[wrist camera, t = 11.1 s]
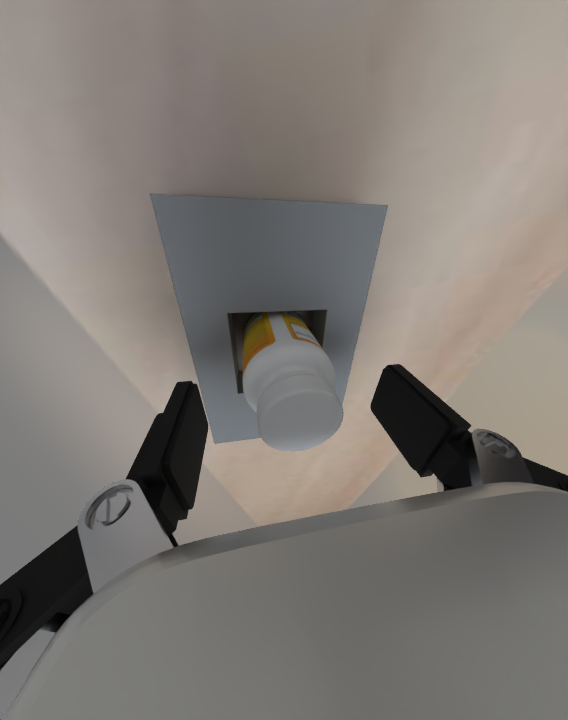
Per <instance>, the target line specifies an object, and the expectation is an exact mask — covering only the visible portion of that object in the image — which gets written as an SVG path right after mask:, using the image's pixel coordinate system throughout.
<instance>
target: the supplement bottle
mask: <svg viewBox="0 0 568 720" xmlns="http://www.w3.org/2000/svg"><path fill="white" fill-rule="evenodd" d="M242 379H243V391H244V396H245V398H246V401H247V402H248V404H249V405H250V407H251V408H252V409H253V410H254V411H255V412H256V413H257V421H258V430H259V434H260V436H261V438H262V440H263V441H264V442H265V443H266V444H268V445H269V446H270V447H272V448H275V449H277V450H282V451H301V450H306V449H309V448H312V447H315V446H317V445H319V444H321V443H323V442H325V441H326V440H327V439H329V438H330V437H331V436H332V435H334V433H335V432H336V431H337V430H338V428H339V427H340V425H341V422H342V420H343V408H342V405H341V403H340V401H339V399H338V397H337V395H336V393H335V391H334V386H335V371H334V367H333V365H332V363H331V361H330V359H329V357H328V356H327V354H326V353H325V351H324V350H323V349H322V347H321V346H320V344H319V343H318V342H317V340H316V339H315V337H314V336H313V334H312V333H311V331H310V330H309V329H308V327H307V326H306V324H305V323H304V322H303V320H302V319H301V318H300V317H299V316H298V315H297V314H296V313H295V312H294V311H273V312H257V313H256V314H255V315H253V316H252V317H251V319H250V320H249V321H248V323H247V325H246V327H245V330H244V335H243V377H242Z"/></svg>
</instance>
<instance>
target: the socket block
mask: <svg viewBox="0 0 568 720" xmlns="http://www.w3.org/2000/svg"><path fill="white" fill-rule="evenodd" d="M150 196H151V200H152V204H153V208H154V212H155V215H156V219H157V223H158V227H159V231H160V235H161V239H162V242H163V246H164V250H165V254H166V258H167V262H168V266H169V270H170V273H171V277H172V281H173V285H174V289H175V293H176V297H177V300H178V304H179V308H180V312H181V316H182V320H183V324H184V327H185V331H186V335H187V339H188V343H189V347H190V351H191V355H192V358H193V362H194V366H195V370H196V374H197V378H198V382H199V385H200V389H201V393H202V397H203V401H204V405H205V409H206V413H207V416H208V420H209V424H210V428H211V432H212V436H213V440H214V443H215V444H216V443H224V442H231V441H239V440H247V439H255V438H261V436H260V434H259V430H258V421H257V413H256V412H255V411H254V410H253V409H252V408H251V407H250V405H249V404H248V402H247V401H246V398H245V396H244V391H243V379H242V377H243V372H239V369H238V361H237V353H236V345H235V337H234V329H233V321H232V313H245V312H273V311H302V310H313V318H312V329H311V333H312V334H313V336H314V337H315V339H316V340H317V342H318V343H319V344H320V346H321V347H322V349H323V350H324V351H325V353H326V354H327V356H328V357H329V359H330V361H331V363H332V365H333V367H334V371H335V386H334V391H335V393H336V395H337V397H338V399H339V401H340V403H341V405H342V404H343V399H344V395H345V391H346V386H347V382H348V377H349V373H350V369H351V364H352V360H353V356H354V351H355V347H356V343H357V338H358V334H359V329H360V325H361V321H362V316H363V312H364V308H365V303H366V299H367V295H368V290H369V286H370V281H371V277H372V273H373V268H374V264H375V260H376V255H377V251H378V247H379V242H380V238H381V233H382V229H383V225H384V220H385V216H386V212H387V207H388V205H370V204H350V203H329V202H309V201H289V200H269V199H248V198H228V197H208V196H187V195H167V194H150Z"/></svg>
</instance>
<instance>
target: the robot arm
mask: <svg viewBox="0 0 568 720" xmlns="http://www.w3.org/2000/svg"><path fill="white" fill-rule="evenodd" d="M371 410H372V412H373V414H374V415H375V416H376V418H377V419H378V421H379V422H380V424H381V425H382V426H383V428H384V429H385V431H386V432H387V433H388V435H389V436H390V438H391V439H392V441H393V442H394V443H395V445H396V446H397V448H398V449H399V451H400V452H401V453H402V455H403V456H404V458H405V459H406V460H407V462H408V463H409V465H410V466H411V467H412V468H413V469H414V470H416V471H417V473H418V474H419V475H420V477H426V476H431V475H432V474H433V473H434V474H435V476H436V477H437V493H432V494H426V495H421V496H416V497H411V498H405V499H400V500H394V501H390V502H385V503H379V504H373V505H368V506H363V507H358V508H353V509H347V510H342V511H337V512H332V513H327V514H322V515H316V516H311V517H306V518H301V519H296V520H291V521H286V522H281V523H276V524H271V525H266V526H261V527H256V528H251V529H246V530H242V531H238V532H233V533H228V534H223V535H219V536H214V537H210V538H205V539H202V540H198V541H194V542H191V543H187V544H183V545H179V543H178V541H177V539H176V537H175V536H174V534H173V532H174V531H175V530H176V527H177V523H178V520H183V519H186V518H187V515H188V510H189V509H192V508H193V506H194V502H195V496H196V491H197V486H198V481H199V475H200V470H201V465H202V459H203V454H204V449H205V443H206V438H207V433H208V422H207V418H206V415H205V411H204V408H203V404H202V400H201V397H200V393H199V389H198V386H197V384H193V382H192V381H185V382H177V384H176V386H175V388H174V390H173V392H172V395H171V397H170V399H169V401H168V403H167V406H166V408H165V410H164V412H163V413H159V414H158V415H157V416H156V418H155V419H154V421H153V424H152V426H151V428H150V430H149V432H148V434H147V436H146V438H145V440H144V442H143V444H142V446H141V448H140V450H139V453H138V455H137V457H136V459H135V461H134V463H133V465H132V467H131V469H130V471H129V474H128V475H127V477H126V480H120V481H117V482H113V483H111V484H110V485H108V486H106V487H104V488H103V489H102V490H100V491H99V492H98V493H96V494H95V495H94V496H93V497H92V498H91V499H90V500H89V501H88V503H87V504H86V505H85V507H84V508H83V510H82V512H81V514H80V516H79V519H78V525H77V526H76V527H75V528H73V529H72V530H71V531H69V532H68V533H67V534H66V535H64V536H63V537H62V538H60V539H59V540H58V541H57V542H55V543H54V544H53V545H51V546H50V547H49V548H47V549H46V550H45V551H44V552H42V553H41V554H40V555H39V556H37V557H36V558H34V559H33V560H32V561H31V562H29V563H28V564H27V565H25V566H24V567H23V568H21V569H20V570H19V571H18V572H17V573H15V574H14V575H12V576H11V577H10V578H8V579H7V580H6V581H5V582H3V583H2V584H1V585H0V716H1V715H2V714H3V712H4V711H5V710H6V708H7V707H8V705H9V704H10V703H11V701H12V700H13V699H14V697H15V696H16V695H17V696H16V698H15V700H14V702H13V703H12V705H11V707H10V709H9V711H8V713H7V714H6V716H5V718H4V720H568V476H567V475H565V474H562V473H560V472H557V471H555V470H552V469H550V468H548V467H545V466H543V465H540V464H538V463H535V462H532V461H530V460H528V459H525V458H523V457H522V455H521V453H520V452H519V450H518V448H517V447H516V446H515V445H514V444H513V443H511V442H510V441H509V440H507V439H506V438H505V437H503V436H501V435H499V434H497V433H495V432H492V431H489V430H486V429H476V430H474V431H473V432H472V433H470V432H469V431H468V429H469V428H470V426H471V425H470V424H469V423H468V422H467V421H466V420H464V419H463V418H462V417H461V416H460V415H459V414H457V413H456V412H455V411H454V410H453V409H452V408H451V407H449V406H448V405H447V404H446V403H445V402H444V401H442V400H441V399H440V398H439V397H438V396H437V395H435V394H434V393H433V392H432V391H431V390H430V389H428V388H427V387H426V386H425V385H424V384H423V383H421V382H420V381H419V380H418V379H417V378H416V377H414V376H413V375H412V374H411V373H410V372H409V371H407V370H406V369H405V368H404V367H403V366H402V365H400V364H395V365H387V366H386V368H384V369H383V371H382V374H381V377H380V380H379V383H378V385H377V388H376V391H375V394H374V397H373V399H372V402H371ZM18 692H19V693H18ZM17 693H18V694H17ZM0 720H2V719H1V718H0Z"/></svg>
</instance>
